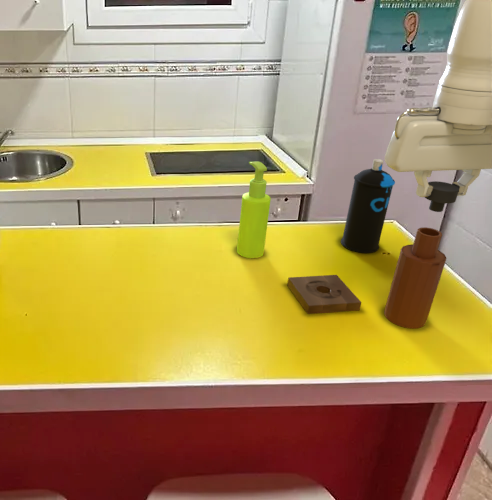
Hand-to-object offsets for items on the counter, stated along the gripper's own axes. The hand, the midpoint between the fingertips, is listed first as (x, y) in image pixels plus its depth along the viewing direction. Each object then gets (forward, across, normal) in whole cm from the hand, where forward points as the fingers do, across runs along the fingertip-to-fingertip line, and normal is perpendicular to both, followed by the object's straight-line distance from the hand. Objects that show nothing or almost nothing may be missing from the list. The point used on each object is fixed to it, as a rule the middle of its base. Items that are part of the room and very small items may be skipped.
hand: (440, 195), depth 82 cm
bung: (+2, 0, 0) cm, 3 cm away
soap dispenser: (+24, -20, +28) cm, 42 cm away
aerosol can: (+24, +6, +28) cm, 37 cm away
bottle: (+24, 0, 0) cm, 24 cm away
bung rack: (+24, -12, +8) cm, 28 cm away
